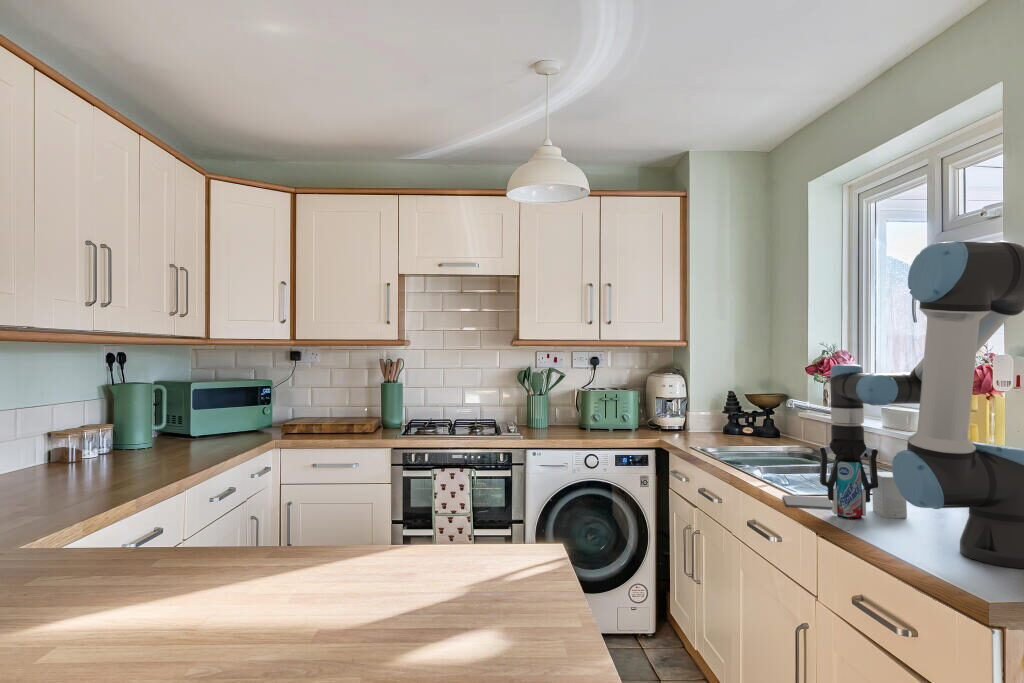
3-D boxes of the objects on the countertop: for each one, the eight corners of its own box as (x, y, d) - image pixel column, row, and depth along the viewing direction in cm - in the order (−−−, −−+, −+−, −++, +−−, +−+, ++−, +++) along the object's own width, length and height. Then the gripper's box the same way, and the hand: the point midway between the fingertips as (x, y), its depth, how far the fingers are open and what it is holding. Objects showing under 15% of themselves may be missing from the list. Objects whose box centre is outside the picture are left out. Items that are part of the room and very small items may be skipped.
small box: (907, 518, 163) (906, 477, 163) (883, 517, 164) (882, 476, 164) (895, 511, 171) (894, 471, 171) (872, 510, 172) (871, 471, 172)
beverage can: (832, 517, 165) (831, 459, 165) (841, 513, 169) (840, 456, 169) (856, 521, 161) (855, 461, 161) (865, 517, 164) (864, 459, 165)
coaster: (835, 509, 173) (835, 507, 173) (787, 506, 177) (787, 504, 177) (827, 499, 184) (827, 497, 184) (782, 497, 188) (782, 495, 188)
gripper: (884, 423, 166) (886, 512, 165) (805, 421, 172) (807, 508, 171) (892, 426, 159) (894, 520, 158) (809, 424, 165) (811, 515, 164)
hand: (849, 513), depth 165 cm, fingers closed on beverage can, 6 cm apart
